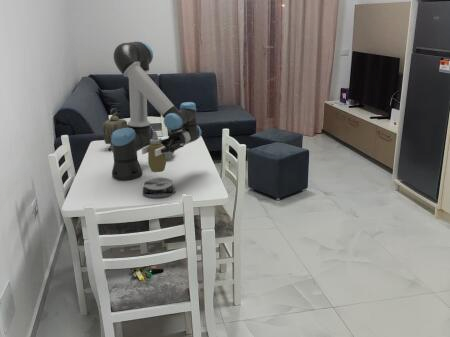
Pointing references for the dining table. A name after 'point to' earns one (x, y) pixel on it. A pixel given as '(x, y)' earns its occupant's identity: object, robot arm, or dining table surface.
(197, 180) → the dining table surface
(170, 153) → the device
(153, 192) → the base
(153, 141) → the squeeze bottle
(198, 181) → the dining table surface
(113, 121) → the olive green container
